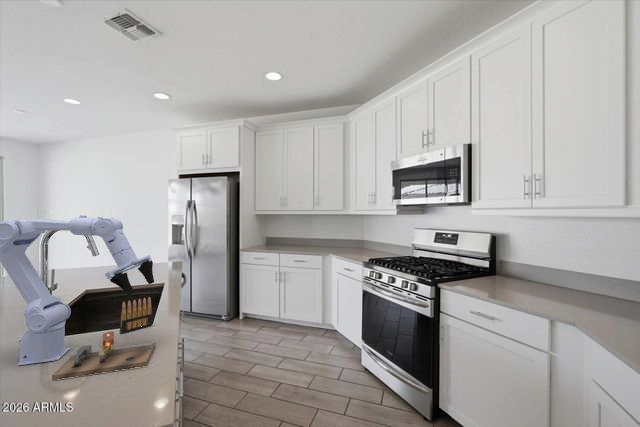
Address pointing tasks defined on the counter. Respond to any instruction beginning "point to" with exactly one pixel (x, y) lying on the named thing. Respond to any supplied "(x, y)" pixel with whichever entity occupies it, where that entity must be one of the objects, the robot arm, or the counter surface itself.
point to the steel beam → (116, 350)
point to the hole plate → (104, 364)
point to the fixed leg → (81, 354)
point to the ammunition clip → (135, 316)
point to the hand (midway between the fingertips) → (142, 288)
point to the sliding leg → (107, 345)
